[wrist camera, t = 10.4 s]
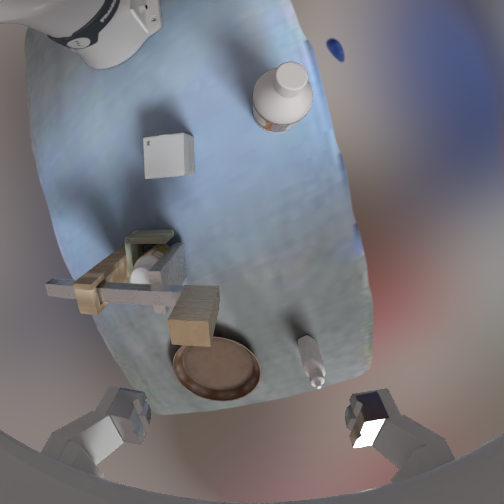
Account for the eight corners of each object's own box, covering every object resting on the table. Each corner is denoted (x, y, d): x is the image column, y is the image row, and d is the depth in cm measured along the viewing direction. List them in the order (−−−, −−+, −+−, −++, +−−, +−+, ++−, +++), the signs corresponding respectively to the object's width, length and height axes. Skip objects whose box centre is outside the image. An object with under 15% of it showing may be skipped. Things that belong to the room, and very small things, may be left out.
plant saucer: (163, 335, 53) (159, 344, 50) (249, 321, 51) (249, 330, 48) (192, 395, 58) (190, 404, 55) (268, 385, 56) (269, 395, 54)
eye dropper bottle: (297, 357, 54) (305, 399, 42) (297, 334, 52) (306, 377, 40) (318, 354, 53) (330, 396, 42) (319, 332, 52) (333, 373, 40)
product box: (160, 176, 43) (143, 179, 36) (158, 139, 41) (141, 136, 34) (196, 173, 43) (185, 176, 36) (195, 136, 41) (184, 131, 34)
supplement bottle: (150, 272, 48) (130, 297, 39) (146, 243, 46) (123, 263, 37) (179, 272, 48) (163, 297, 39) (175, 242, 46) (157, 262, 37)
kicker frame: (121, 230, 46) (68, 262, 30) (173, 229, 46) (135, 264, 30) (128, 282, 49) (85, 330, 33) (178, 284, 49) (148, 338, 33)
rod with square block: (87, 243, 45) (12, 290, 25) (227, 242, 45) (207, 307, 25) (92, 273, 47) (25, 330, 27) (228, 277, 47) (211, 358, 27)
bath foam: (245, 102, 39) (238, 58, 20) (285, 86, 38) (308, 34, 19) (264, 140, 41) (273, 123, 22) (304, 123, 40) (343, 96, 21)
